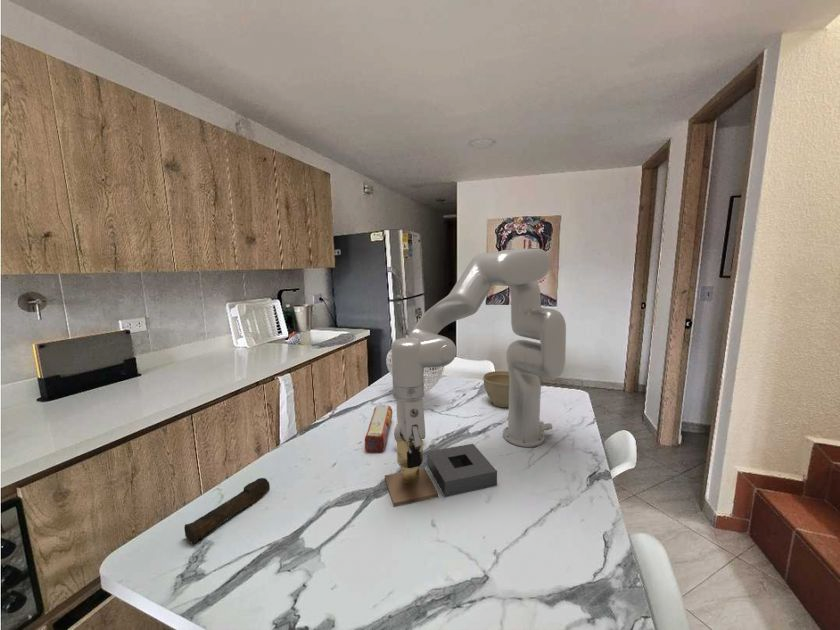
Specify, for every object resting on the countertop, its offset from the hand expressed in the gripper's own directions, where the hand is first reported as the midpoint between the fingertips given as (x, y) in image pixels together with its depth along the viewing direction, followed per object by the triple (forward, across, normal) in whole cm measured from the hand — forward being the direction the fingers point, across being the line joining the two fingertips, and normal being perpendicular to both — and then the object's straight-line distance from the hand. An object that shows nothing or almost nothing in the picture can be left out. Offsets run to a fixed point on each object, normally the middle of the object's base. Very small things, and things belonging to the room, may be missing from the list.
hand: (410, 457), depth 86 cm
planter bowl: (+8, +39, -49) cm, 63 cm away
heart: (+8, +53, -16) cm, 56 cm away
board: (+8, 0, 0) cm, 8 cm away
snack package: (+9, +29, +3) cm, 30 cm away
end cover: (+6, 0, 0) cm, 6 cm away
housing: (+8, +1, -14) cm, 16 cm away
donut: (+8, +19, -5) cm, 21 cm away
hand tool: (+8, +4, +41) cm, 42 cm away
